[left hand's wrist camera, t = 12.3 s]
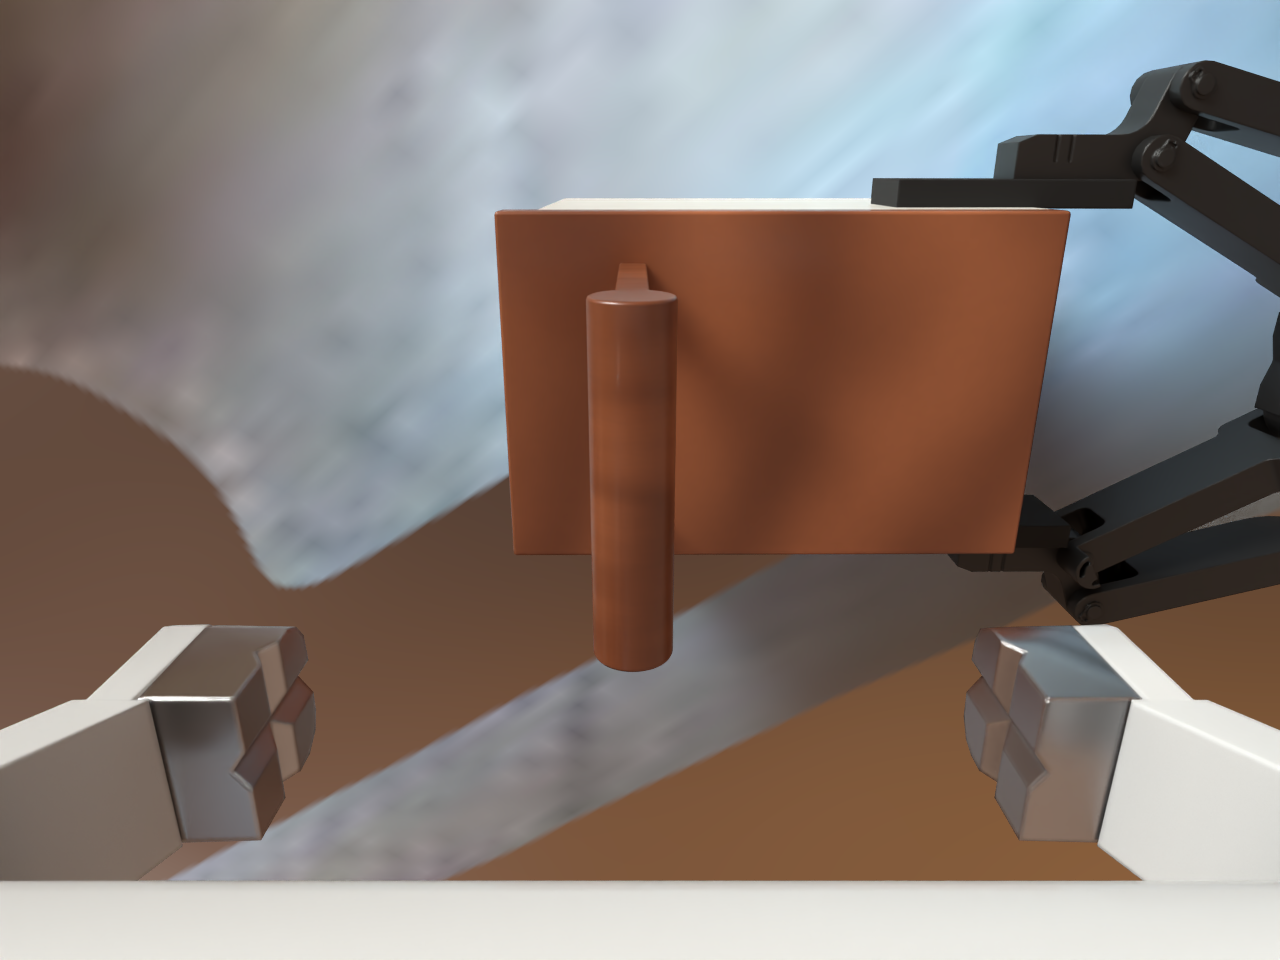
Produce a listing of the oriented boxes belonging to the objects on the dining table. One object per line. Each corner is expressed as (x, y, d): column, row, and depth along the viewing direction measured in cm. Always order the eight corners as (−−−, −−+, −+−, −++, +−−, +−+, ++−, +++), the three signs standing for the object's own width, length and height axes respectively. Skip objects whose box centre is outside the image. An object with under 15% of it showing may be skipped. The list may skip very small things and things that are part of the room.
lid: (517, 541, 25) (461, 721, 17) (499, 209, 22) (419, 232, 14) (1000, 540, 26) (1176, 718, 17) (1053, 209, 22) (1302, 233, 14)
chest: (570, 448, 34) (549, 540, 26) (562, 198, 31) (535, 209, 22) (909, 447, 34) (1000, 539, 26) (937, 198, 31) (1053, 209, 22)
